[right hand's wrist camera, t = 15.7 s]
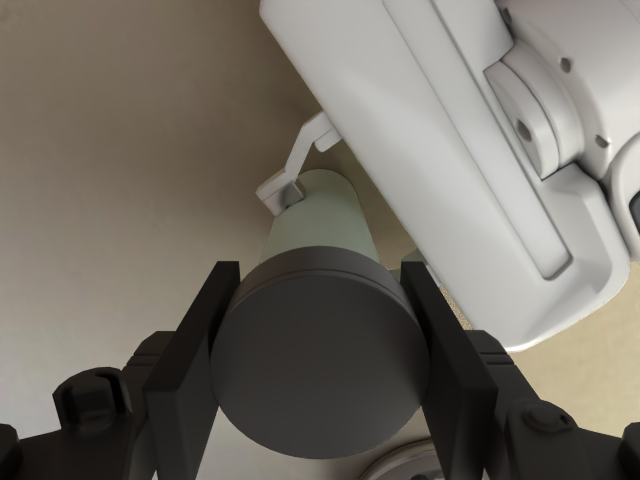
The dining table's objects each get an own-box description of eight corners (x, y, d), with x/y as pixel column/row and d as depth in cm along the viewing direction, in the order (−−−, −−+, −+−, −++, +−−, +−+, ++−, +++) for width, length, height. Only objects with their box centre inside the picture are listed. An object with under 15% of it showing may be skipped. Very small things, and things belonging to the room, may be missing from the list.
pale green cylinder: (372, 218, 26) (441, 384, 11) (308, 256, 27) (295, 455, 12) (332, 153, 25) (350, 246, 10) (266, 195, 26) (193, 338, 11)
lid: (431, 255, 12) (453, 288, 10) (395, 414, 14) (408, 467, 12) (229, 233, 11) (210, 263, 10) (222, 398, 13) (206, 450, 11)
